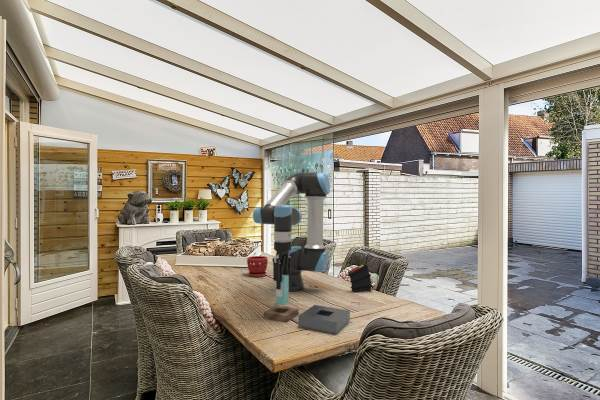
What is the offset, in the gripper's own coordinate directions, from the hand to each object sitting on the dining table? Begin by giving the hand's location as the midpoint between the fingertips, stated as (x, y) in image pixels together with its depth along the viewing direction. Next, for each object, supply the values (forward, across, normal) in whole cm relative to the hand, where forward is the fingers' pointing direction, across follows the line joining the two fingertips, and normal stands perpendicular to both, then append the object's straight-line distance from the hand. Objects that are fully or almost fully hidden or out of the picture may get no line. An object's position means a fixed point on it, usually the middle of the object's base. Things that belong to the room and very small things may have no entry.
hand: (282, 294), depth 155 cm
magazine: (+10, +56, -18) cm, 59 cm away
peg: (+4, 0, 0) cm, 4 cm away
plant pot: (+10, +60, +51) cm, 79 cm away
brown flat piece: (+9, 0, 0) cm, 9 cm away
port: (+9, 0, -20) cm, 22 cm away
